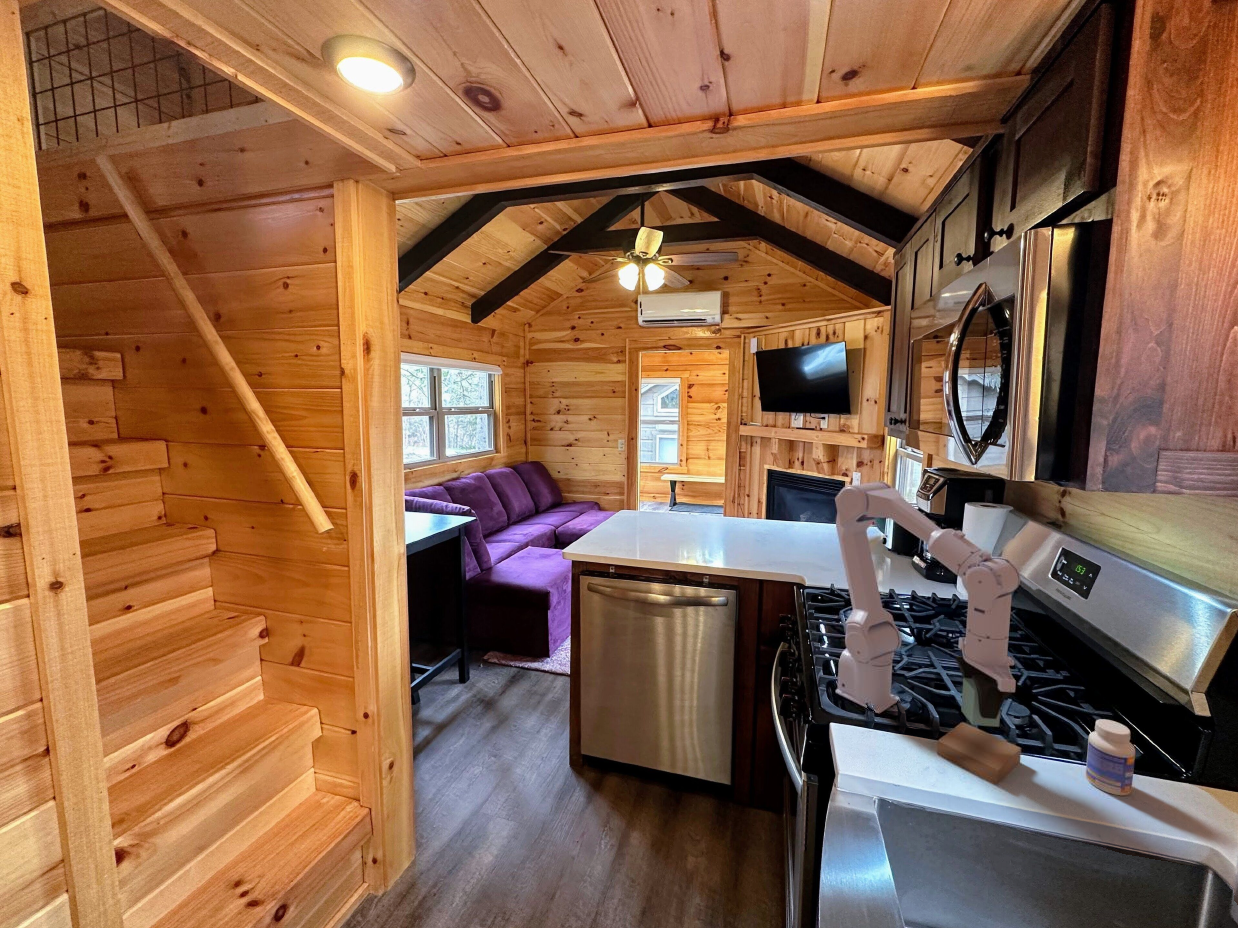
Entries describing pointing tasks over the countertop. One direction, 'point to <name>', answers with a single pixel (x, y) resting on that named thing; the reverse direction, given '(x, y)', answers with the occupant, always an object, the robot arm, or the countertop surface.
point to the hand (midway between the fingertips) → (981, 709)
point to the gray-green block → (974, 705)
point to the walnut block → (979, 752)
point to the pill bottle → (1110, 758)
